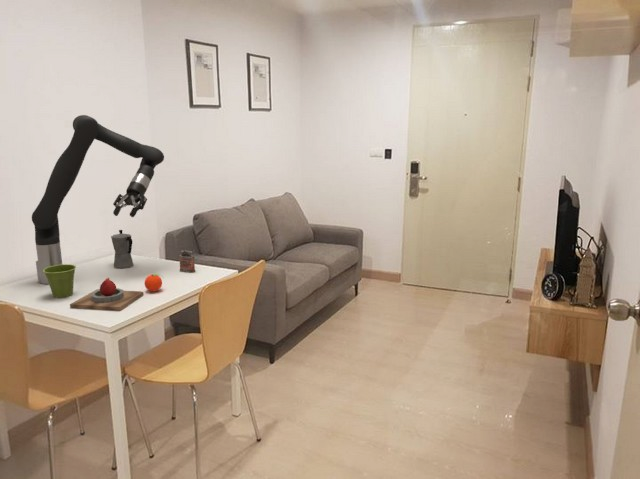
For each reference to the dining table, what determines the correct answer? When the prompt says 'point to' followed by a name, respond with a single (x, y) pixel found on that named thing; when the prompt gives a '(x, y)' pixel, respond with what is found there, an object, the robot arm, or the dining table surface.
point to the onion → (107, 288)
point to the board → (113, 306)
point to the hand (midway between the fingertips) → (123, 215)
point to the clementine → (153, 282)
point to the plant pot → (60, 279)
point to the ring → (113, 298)
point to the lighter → (187, 262)
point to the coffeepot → (122, 250)
